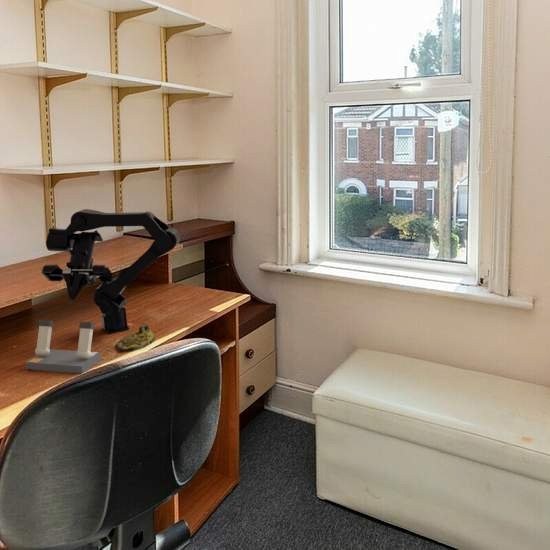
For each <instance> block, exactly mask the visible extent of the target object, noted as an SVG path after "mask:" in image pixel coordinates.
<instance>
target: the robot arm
mask: <svg viewBox="0 0 550 550" xmlns="http://www.w3.org/2000/svg"><path fill="white" fill-rule="evenodd" d="M106 227H108V228H109V227H110V228H111V227H112V228H113V227H115V228H116V227H143V229H145V230H146V231H147V232H148V234H149V235H150V236H151V238H153V240H154V241H153V242H152V243H151V244H150V245H149V248H147V250H146V251H145V252H144V253H142V255H140V257H138V258H137V260H135V261H134V262H132V264H131V265H130V266H128V267H127V268H126V269H125V270H124V271H123V272H122V273H120V274H119V276H117V277H116V278H113V273H112V271H111V270H110V268H109V267H108V266H107V264H94V257H93V255H94V248H95V244H96V242H103V241H104V239H103V237H102V235H101V233H100V232H98V230H97V229H99V228H106ZM92 230H94V231H92ZM78 232H79V233H78ZM180 241H181V235H180V232H179V231H178V230H177V229H176V228H174V227H170V225H168V224H167V223H166V222H164V221H162V220H161V219H160V218H158V217H157V216H156V215H155V214H154V213H153V212H152V211H147V210H146V211H145V212H142V211H139V212H102V211H100V210H96V209H95V210H94V209H89V208H88V209H87V208H85V209H82V210H81V209H80V210H79V211H75V212H74V213H73V214H72V215H71V217H70V223H69V225H67V227H66V228H57V227H51V228H49V229H48V234H47V236H46V240H45V247H46V250H47V251H49V252H63V253H64V252H65V253H69V255H70V258H69V261H68V262H66V268H64V267H63V268H61V267H60V266H59V265H58V264H44V265H43V267H42V268H41V274H42V275H43V276H44V277H45V278H46V279H47V280H48V281H49V282H61V281H65V285H66V290H67V294H68V298H69V301H70V302H73V301H75V299H76V298H77V297H78V295H79V293H80V292H81V290H82V289H83V288H84V287H85V286H87V285H88V286H94V285H95V283H96V280H97V278H98V279H99V280H100V282H102V283H101V284H100V285H99V286H98V287H96V288H95V289H94V291H95V293H93V301H94V304H95V306H97V307H98V308H99V310H100V312H101V313H102V315H101V326H102V329H104V331H105V332H107V334H112V333H117V332H118V333H119V332H123V331H127V330H130V326H129V325H128V319H127V309H126V308H125V307H124V306H126V303H127V300H128V299H127V298H126V297H125V296H123V295H122V293H123V292H124V290H125V288H126V287H127V286H128V285H129V284H130V283H132V281H133V280H135V278H137V276H139V275H140V274H141V273H143V272H144V270H146V268H148V267H149V266H150V265H151V264H152V263H153V262H154V261H155V260H157V259H159V258H160V257H162V256H164V255H166V254H168V253H169V252H170V251H172V250H173V249H174V248H175V247H177V246H178V244H179V243H180Z"/></svg>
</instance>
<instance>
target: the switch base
mask: <svg viewBox="0 0 550 550" xmlns="http://www.w3.org/2000/svg"><path fill="white" fill-rule="evenodd" d="M49 349H50V354H49V355H36V354H35V356H33V357H32V358H30V359H28V360H27V361H25V362H24V363H25V368H26V370H27V369H31V371H40V370H42V371H43V372H57V373H69V374H81V375H83V374H84V373H85V372H87V371H88V370H90V369H91V368H92V367H93V366H95V365H96V364H97V363H99V362H100V361H101V360H102V355H101V352H98V351H97V352H96V351H90V352H91V357H90V358H77V357H76V352H77V351H78V350H69V349H67V350H65V349H64V350H63V349H51V348H49ZM42 371H41V372H42ZM82 373H83V374H82Z"/></svg>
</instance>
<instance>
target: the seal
mask: <svg viewBox="0 0 550 550" xmlns="http://www.w3.org/2000/svg"><path fill="white" fill-rule="evenodd" d="M154 341H155V333H153V332H152V331H151V329H150V325H149V324H148V322H143V323H142V324H141V325H139V328H138V331H137V332H133V333H130V334H129V335H127V336H125V337H122V338H121V339H119V340H117V342H116V343H117V344H116V350H118V352H131V351H132V352H134V351H138V350H141V349H144V348H146V347H148V346H151V344H153V342H154Z"/></svg>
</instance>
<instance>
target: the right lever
mask: <svg viewBox="0 0 550 550" xmlns="http://www.w3.org/2000/svg"><path fill="white" fill-rule="evenodd" d="M95 323H96V322H93V321H92V322H91V321H90V322H88V321H80V322H79V326H78V327H79V328H78V329H79V334H78V335H79V336H78V344H77V350H76V351H77V352H76V357H77V358H90V357H91V352H92V351H91V350H92V349H91V348H92V340H93V333H94V329H95V325H96V324H95Z"/></svg>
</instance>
